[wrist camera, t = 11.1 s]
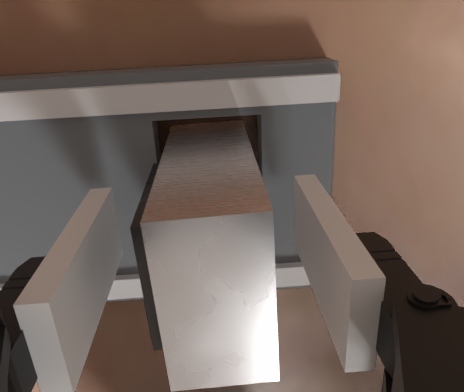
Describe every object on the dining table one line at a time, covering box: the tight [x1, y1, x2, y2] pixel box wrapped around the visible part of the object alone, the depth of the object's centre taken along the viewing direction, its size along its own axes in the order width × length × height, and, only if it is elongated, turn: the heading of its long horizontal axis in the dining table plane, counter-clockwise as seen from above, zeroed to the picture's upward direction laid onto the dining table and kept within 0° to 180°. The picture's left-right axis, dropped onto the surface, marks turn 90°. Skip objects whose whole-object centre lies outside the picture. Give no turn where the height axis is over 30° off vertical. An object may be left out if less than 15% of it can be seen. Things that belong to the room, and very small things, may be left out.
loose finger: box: [130, 120, 280, 392], centre depth 15 cm, size 5×4×9 cm
